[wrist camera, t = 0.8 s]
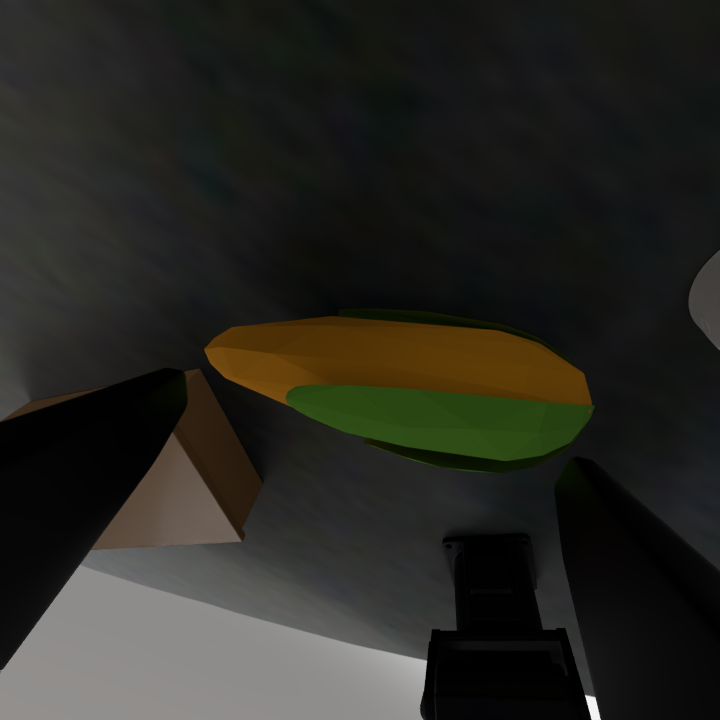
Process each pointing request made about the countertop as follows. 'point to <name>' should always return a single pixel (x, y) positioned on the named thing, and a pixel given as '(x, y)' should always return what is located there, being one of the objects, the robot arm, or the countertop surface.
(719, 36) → the countertop surface
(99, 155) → the countertop surface
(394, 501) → the countertop surface
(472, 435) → the corn
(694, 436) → the countertop surface
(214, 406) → the takeaway box
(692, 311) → the dixie cup
